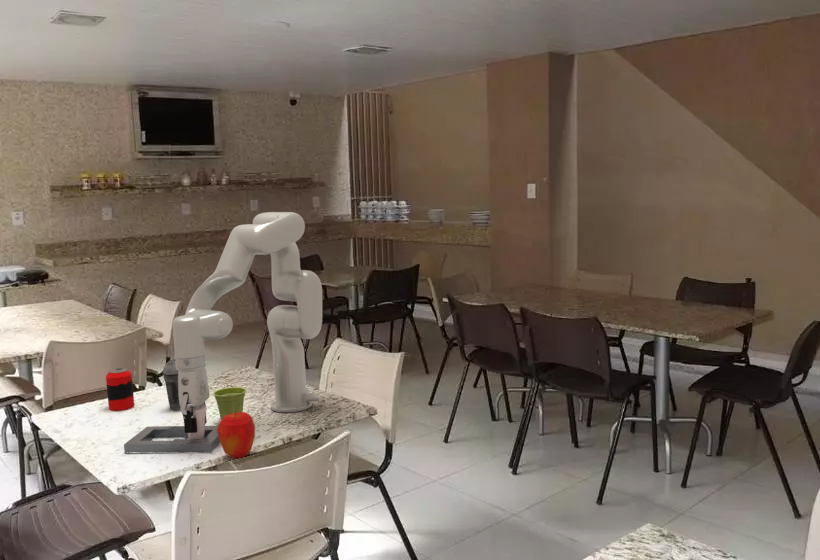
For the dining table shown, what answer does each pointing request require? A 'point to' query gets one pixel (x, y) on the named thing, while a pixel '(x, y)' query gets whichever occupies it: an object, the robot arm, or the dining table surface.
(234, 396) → the plant pot
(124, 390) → the soda can
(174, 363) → the beverage cup
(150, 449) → the keyhole plate
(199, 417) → the smoothie
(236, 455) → the apple
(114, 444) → the dining table surface
